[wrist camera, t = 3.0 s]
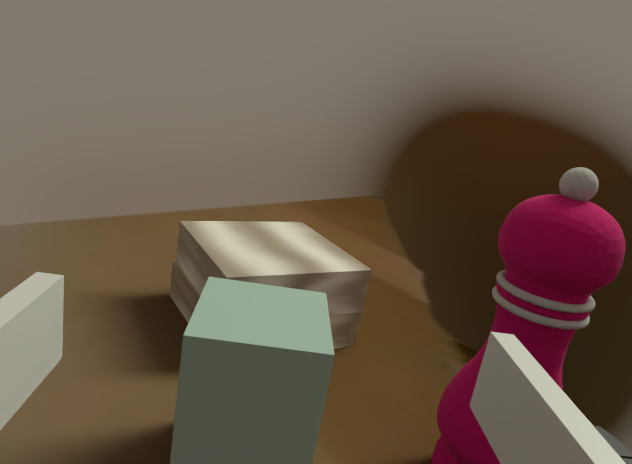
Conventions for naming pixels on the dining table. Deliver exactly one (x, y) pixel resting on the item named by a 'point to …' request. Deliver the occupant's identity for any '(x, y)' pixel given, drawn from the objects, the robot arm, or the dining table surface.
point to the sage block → (252, 375)
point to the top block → (272, 259)
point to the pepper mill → (537, 297)
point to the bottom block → (187, 297)
